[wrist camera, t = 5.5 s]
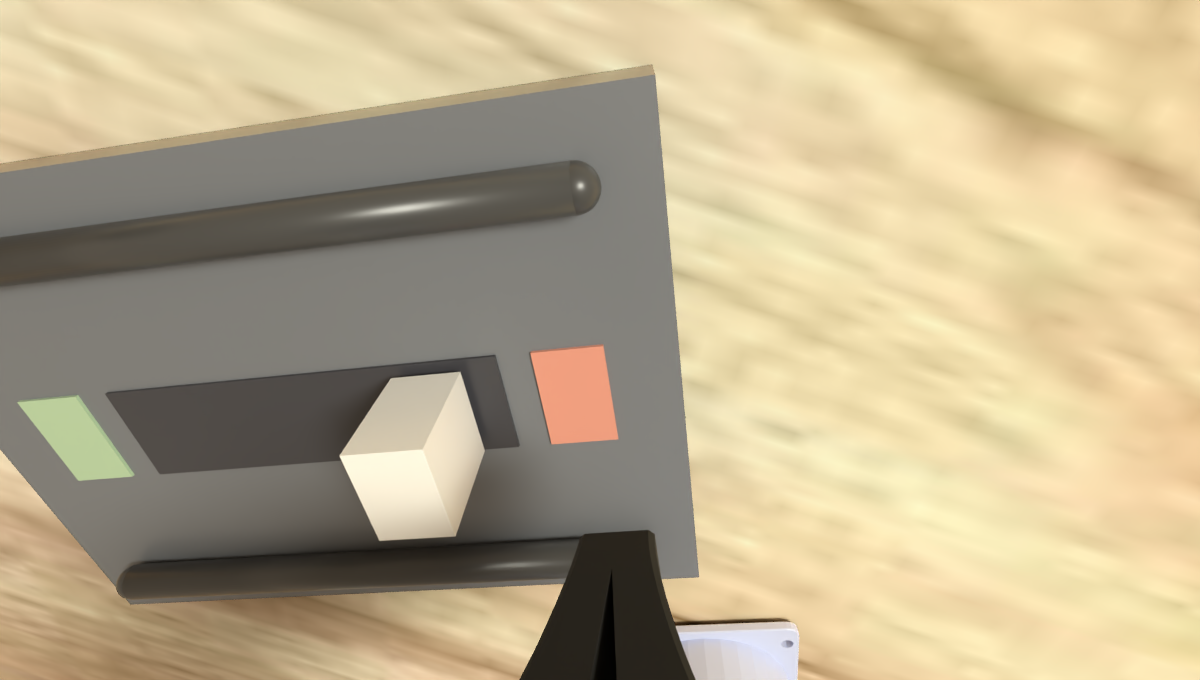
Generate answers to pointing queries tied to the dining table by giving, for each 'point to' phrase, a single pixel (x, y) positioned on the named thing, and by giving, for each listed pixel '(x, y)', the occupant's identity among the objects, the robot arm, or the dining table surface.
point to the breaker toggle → (416, 457)
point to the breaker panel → (349, 339)
